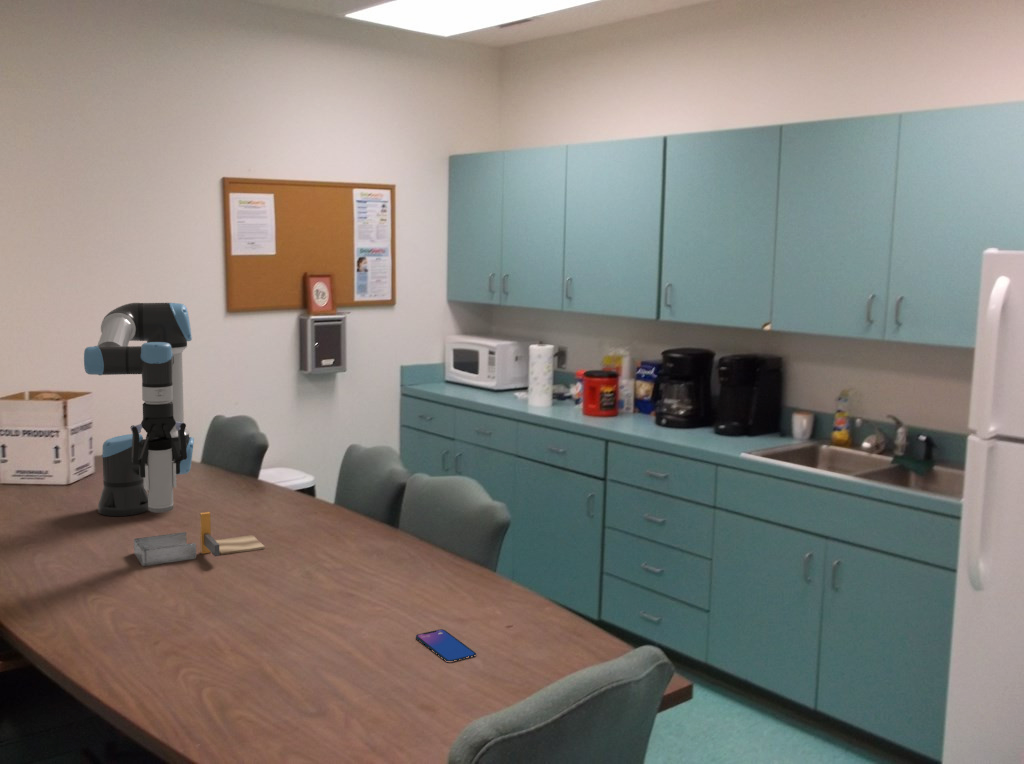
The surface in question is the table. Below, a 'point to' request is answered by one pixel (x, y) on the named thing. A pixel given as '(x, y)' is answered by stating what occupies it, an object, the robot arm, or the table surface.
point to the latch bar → (207, 536)
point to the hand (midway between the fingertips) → (160, 487)
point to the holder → (164, 549)
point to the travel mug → (160, 475)
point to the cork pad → (239, 544)
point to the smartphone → (445, 645)
